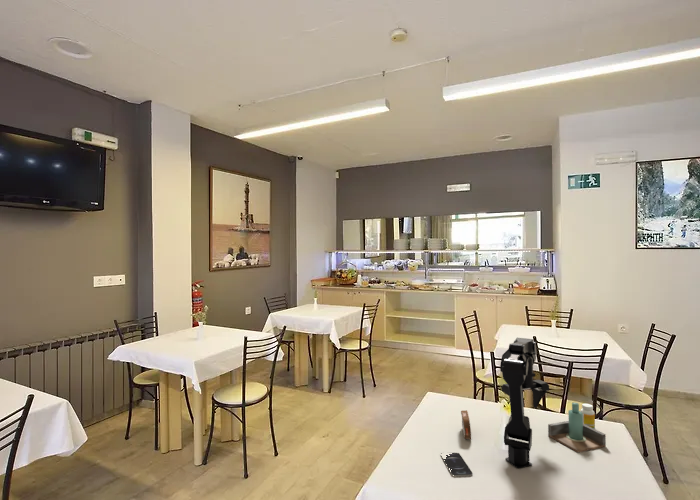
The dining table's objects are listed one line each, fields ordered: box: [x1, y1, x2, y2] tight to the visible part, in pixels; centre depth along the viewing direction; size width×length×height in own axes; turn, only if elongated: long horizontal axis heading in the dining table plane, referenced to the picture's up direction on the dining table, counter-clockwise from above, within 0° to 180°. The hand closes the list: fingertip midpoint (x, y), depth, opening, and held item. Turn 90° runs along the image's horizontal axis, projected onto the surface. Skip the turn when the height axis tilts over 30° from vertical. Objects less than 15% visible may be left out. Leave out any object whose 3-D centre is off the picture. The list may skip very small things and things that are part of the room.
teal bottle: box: [567, 402, 583, 440], centre depth 156 cm, size 5×5×14 cm
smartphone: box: [440, 452, 473, 478], centre depth 139 cm, size 8×1×15 cm
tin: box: [460, 410, 472, 440], centre depth 162 cm, size 15×3×8 cm, turn 168°
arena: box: [547, 420, 607, 453], centre depth 155 cm, size 14×14×5 cm
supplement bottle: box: [579, 403, 596, 430], centre depth 167 cm, size 5×5×10 cm
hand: (525, 408), depth 155 cm, fingers open, 9 cm apart
